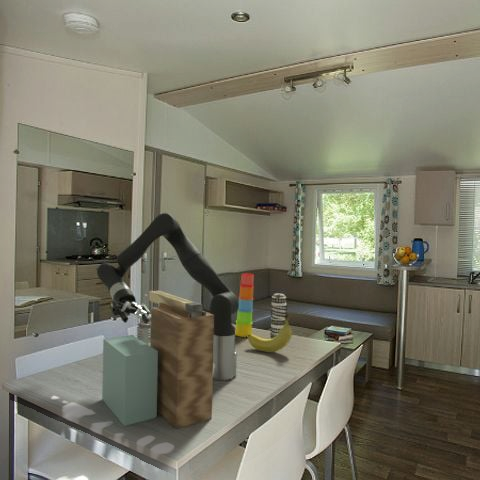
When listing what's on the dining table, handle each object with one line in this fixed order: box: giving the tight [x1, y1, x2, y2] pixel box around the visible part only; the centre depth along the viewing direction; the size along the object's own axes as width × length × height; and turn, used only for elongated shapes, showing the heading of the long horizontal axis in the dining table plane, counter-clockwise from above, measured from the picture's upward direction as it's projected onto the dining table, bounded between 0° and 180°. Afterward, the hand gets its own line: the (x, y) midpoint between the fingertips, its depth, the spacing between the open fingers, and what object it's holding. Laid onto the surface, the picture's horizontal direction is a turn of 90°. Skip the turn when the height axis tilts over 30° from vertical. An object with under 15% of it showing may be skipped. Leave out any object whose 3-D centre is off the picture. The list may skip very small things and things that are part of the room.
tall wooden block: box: [150, 303, 214, 430], centre depth 126 cm, size 12×20×33 cm, turn 35°
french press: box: [136, 293, 151, 346], centre depth 201 cm, size 10×12×25 cm
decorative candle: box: [269, 292, 288, 339], centre depth 213 cm, size 9×9×25 cm
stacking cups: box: [235, 273, 255, 338], centre depth 222 cm, size 10×10×35 cm
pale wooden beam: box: [148, 290, 203, 317], centre depth 130 cm, size 4×32×4 cm, turn 35°
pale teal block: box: [101, 334, 158, 427], centre depth 127 cm, size 10×22×20 cm, turn 35°
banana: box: [247, 312, 293, 353], centre depth 191 cm, size 23×6×20 cm, turn 62°
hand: (137, 321), depth 144 cm, fingers open, 8 cm apart
